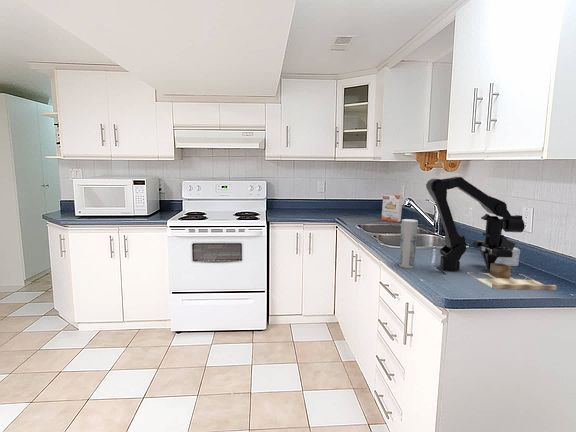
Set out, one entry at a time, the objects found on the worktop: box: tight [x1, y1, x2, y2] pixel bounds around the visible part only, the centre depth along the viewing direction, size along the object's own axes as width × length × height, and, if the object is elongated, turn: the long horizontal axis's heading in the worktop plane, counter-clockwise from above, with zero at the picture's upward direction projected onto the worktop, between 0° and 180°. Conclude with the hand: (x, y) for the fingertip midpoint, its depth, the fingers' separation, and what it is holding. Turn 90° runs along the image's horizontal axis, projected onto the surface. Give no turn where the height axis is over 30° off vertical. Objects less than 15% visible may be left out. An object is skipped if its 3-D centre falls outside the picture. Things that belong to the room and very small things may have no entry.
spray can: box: [398, 218, 419, 269], centre depth 156 cm, size 6×6×20 cm
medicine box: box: [495, 247, 521, 267], centre depth 160 cm, size 8×4×9 cm, turn 92°
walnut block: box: [489, 263, 512, 279], centre depth 141 cm, size 5×5×4 cm
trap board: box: [467, 272, 558, 291], centre depth 136 cm, size 22×19×3 cm
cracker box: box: [381, 193, 404, 223], centre depth 290 cm, size 14×6×21 cm, turn 50°
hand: (489, 269), depth 149 cm, fingers closed
